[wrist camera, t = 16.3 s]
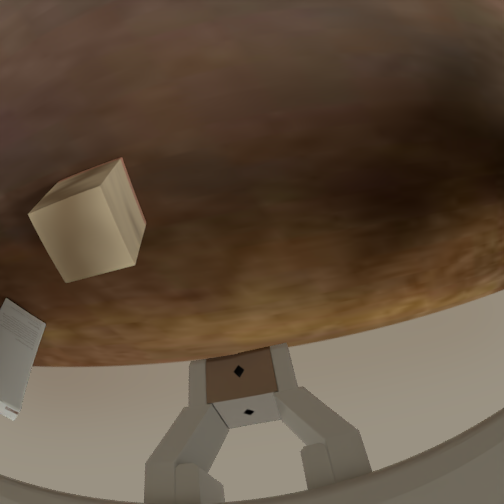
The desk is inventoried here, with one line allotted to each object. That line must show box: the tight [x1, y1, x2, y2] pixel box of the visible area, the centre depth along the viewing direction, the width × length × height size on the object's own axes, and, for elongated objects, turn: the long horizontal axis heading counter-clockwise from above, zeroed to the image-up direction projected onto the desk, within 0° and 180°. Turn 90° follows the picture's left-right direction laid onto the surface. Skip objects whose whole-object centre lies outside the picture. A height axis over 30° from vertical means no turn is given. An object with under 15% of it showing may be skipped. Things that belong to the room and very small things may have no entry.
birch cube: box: [28, 157, 146, 283], centre depth 21 cm, size 6×6×6 cm
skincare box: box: [0, 298, 46, 421], centre depth 24 cm, size 6×4×12 cm
